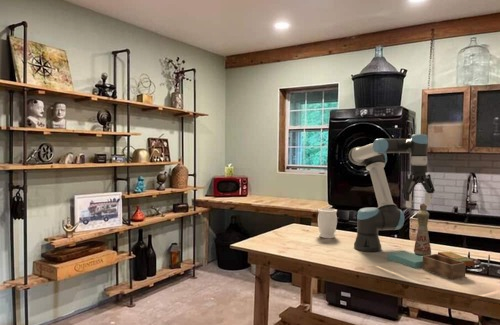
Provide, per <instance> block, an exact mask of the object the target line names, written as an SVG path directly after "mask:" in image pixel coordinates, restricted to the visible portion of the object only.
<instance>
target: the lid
mask: <svg viewBox="0 0 500 325" xmlns="http://www.w3.org/2000/svg"><path fill="white" fill-rule="evenodd" d="M387 260H388V261H389V262H397V263H399V264H401V265H402V264H403V265H405V266H408V267H410V268H413V269H418V268H423V256H422V255H418V254H415V253H412V252H408V251H406V250H399V251H393V252H388V253H387Z"/></svg>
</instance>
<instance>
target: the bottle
mask: <svg viewBox="0 0 500 325" xmlns="http://www.w3.org/2000/svg"><path fill="white" fill-rule="evenodd" d="M416 216H417V223H418V226H417V231H416V232H417V233H416V235H415V236H416V237H415V242H414V248H413V254H415V255H418V256H427V255H432V247H431V242H430V237H429V229H428V224H429V217H430V213H429V212H428V211H427V206H426V205H425V202H424V203H420V204H419V210H418V211H417V213H416Z"/></svg>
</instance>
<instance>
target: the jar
mask: <svg viewBox="0 0 500 325" xmlns="http://www.w3.org/2000/svg"><path fill="white" fill-rule="evenodd" d="M317 212H318V214H317V225H318V230H319V234H318V235H319V237H320V238H323V239H333V238H336V236H335V233H336V231H337V225H338V216H337V213H338V209H335V208H328V207H324V208H321V207H320V208H318V209H317Z"/></svg>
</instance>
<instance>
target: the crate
mask: <svg viewBox="0 0 500 325" xmlns="http://www.w3.org/2000/svg"><path fill="white" fill-rule="evenodd" d="M422 257H423V267H422V270H423V271H427V272H429V273H432V274H434V275H438V276H440V277H443V278H446V279H449V280H451V281H452V280H456V279H461V278H466V268H467V267H466V263H464V262H461V261H458V260H454V259H451V258H448V257H444V256H441V255H438V253H434V254H430V255H422Z"/></svg>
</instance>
